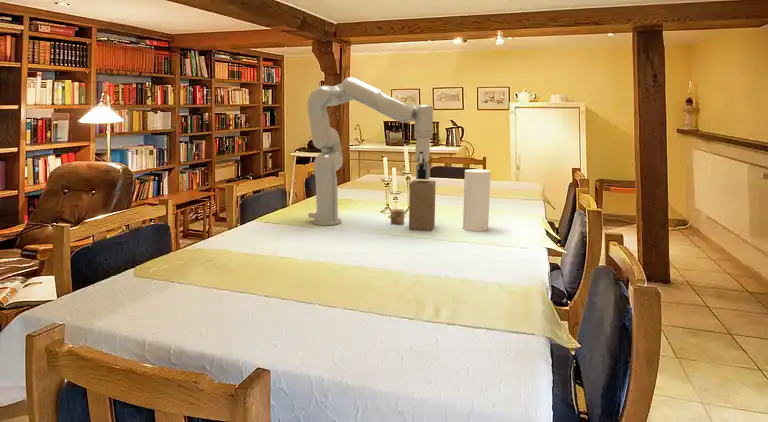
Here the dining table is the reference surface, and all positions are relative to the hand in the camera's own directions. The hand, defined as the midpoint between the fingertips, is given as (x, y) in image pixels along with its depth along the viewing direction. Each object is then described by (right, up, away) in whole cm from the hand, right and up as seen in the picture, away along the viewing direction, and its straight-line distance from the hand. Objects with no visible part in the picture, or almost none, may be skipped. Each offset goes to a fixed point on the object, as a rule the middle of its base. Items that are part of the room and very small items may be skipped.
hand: (422, 177), depth 218 cm
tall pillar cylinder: (+23, -22, +3) cm, 32 cm away
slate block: (0, 0, 0) cm, 0 cm away
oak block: (-10, -20, +13) cm, 26 cm away
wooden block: (0, -22, +4) cm, 22 cm away
